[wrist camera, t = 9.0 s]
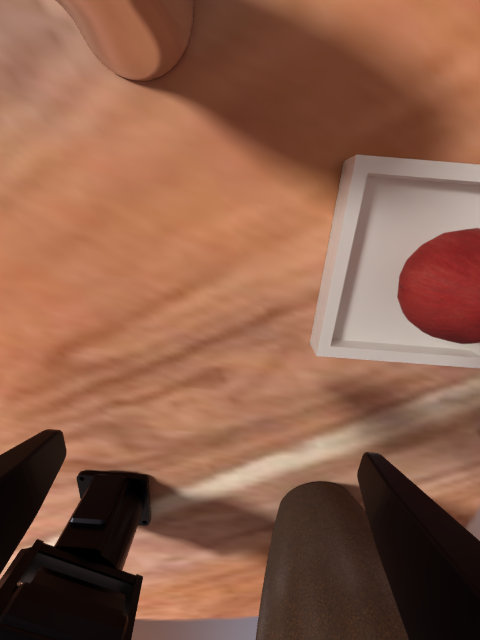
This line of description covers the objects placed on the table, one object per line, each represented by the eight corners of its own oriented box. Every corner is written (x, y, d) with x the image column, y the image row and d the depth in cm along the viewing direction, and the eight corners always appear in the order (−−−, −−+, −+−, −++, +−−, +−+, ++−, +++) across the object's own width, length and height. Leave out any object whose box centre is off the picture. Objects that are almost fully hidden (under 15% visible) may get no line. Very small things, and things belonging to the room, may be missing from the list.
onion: (485, 238, 17) (673, 259, 10) (439, 322, 19) (564, 393, 12) (397, 215, 17) (521, 217, 9) (360, 303, 19) (436, 364, 11)
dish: (468, 355, 21) (490, 369, 19) (309, 343, 21) (316, 356, 19) (543, 177, 16) (581, 173, 15) (343, 161, 16) (356, 154, 14)
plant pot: (413, 453, 24) (676, 830, 10) (377, 557, 30) (509, 901, 15) (245, 447, 25) (244, 810, 10) (240, 552, 30) (234, 888, 15)
